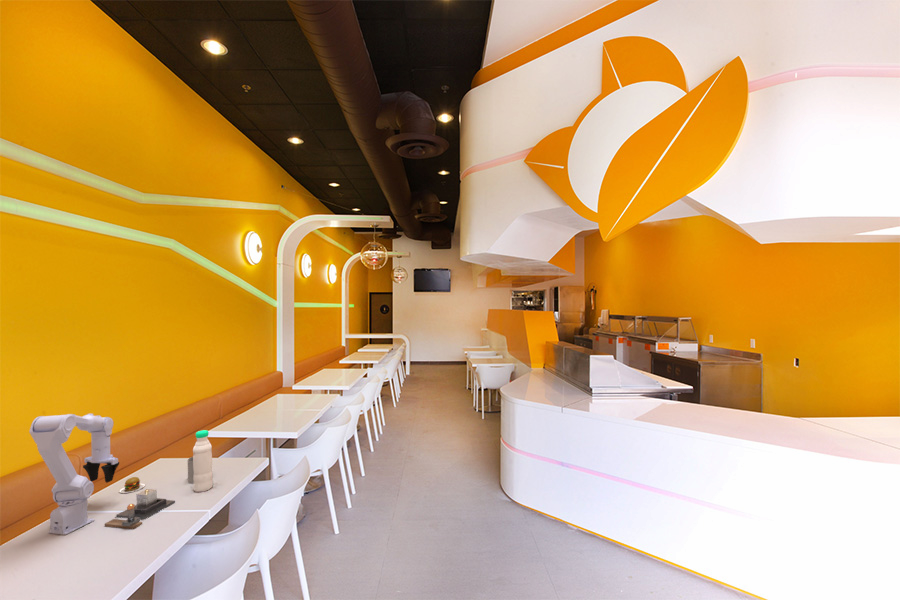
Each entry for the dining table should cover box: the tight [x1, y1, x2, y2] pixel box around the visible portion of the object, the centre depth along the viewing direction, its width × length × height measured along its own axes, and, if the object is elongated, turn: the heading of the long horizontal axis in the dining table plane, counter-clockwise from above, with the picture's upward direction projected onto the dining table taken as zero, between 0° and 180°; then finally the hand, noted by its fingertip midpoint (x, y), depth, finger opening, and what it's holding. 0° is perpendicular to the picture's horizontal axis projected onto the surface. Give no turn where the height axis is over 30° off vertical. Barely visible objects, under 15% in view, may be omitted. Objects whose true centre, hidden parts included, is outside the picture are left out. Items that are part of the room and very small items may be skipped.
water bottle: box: [192, 429, 213, 493], centre depth 172 cm, size 7×7×25 cm
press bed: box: [115, 497, 176, 520], centre depth 155 cm, size 13×13×2 cm
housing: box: [136, 488, 158, 509], centre depth 156 cm, size 4×4×7 cm
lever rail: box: [104, 518, 143, 530], centre depth 144 cm, size 3×13×1 cm, turn 78°
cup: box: [187, 456, 194, 485], centre depth 182 cm, size 8×8×10 cm
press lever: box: [122, 503, 141, 526], centre depth 143 cm, size 4×4×7 cm
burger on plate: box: [118, 476, 146, 494], centre depth 174 cm, size 12×12×6 cm
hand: (101, 481), depth 160 cm, fingers open, 7 cm apart
